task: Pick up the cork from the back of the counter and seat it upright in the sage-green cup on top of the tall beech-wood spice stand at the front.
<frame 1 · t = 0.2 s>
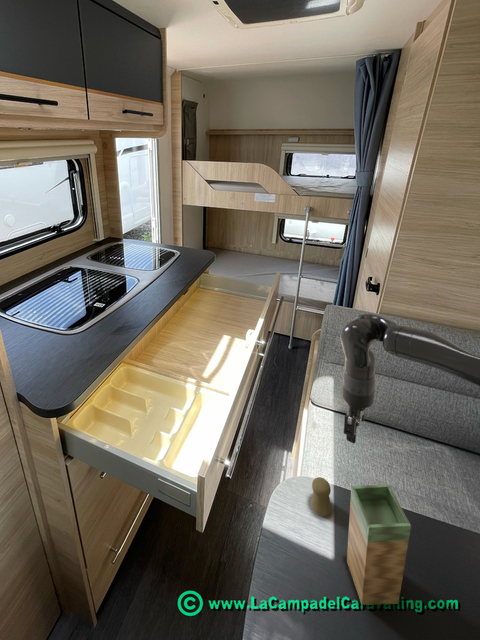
hand: (355, 429, 91), 29 cm above the table, tool pointing down, fingers open, 8 cm apart
cork: (320, 508, 99), on the table
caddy: (377, 519, 73), on the table
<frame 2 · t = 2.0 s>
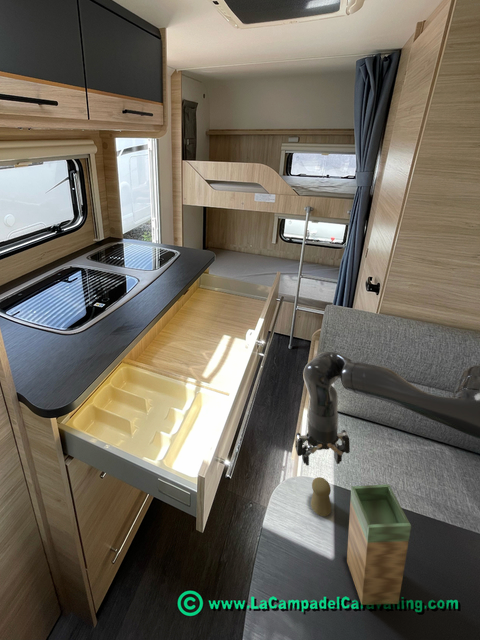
hand: (321, 461, 92), 20 cm above the table, tool pointing down, fingers open, 8 cm apart
nothing on the table moved.
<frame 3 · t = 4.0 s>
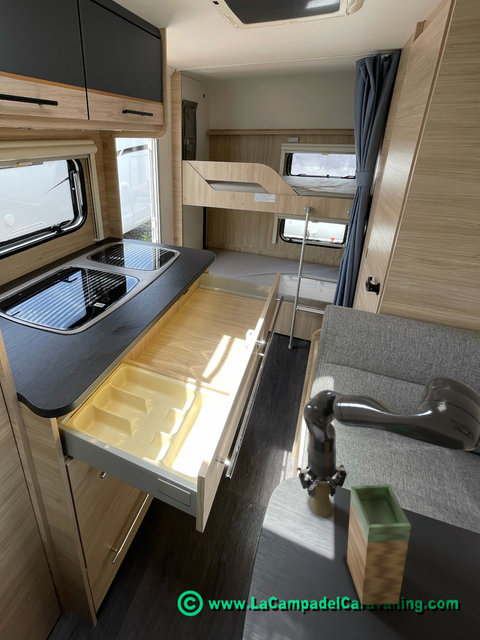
hand: (321, 493, 97), 6 cm above the table, tool pointing down, fingers closed on cork, 5 cm apart
cork: (320, 508, 99), on the table, touching gripper
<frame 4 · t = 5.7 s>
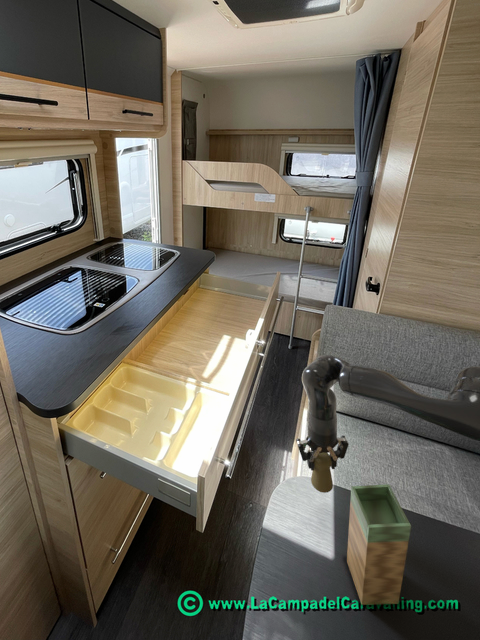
hand: (321, 466, 93), 18 cm above the table, tool pointing down, fingers closed on cork, 5 cm apart
cork: (321, 482, 95), point 11 cm above the table, touching gripper
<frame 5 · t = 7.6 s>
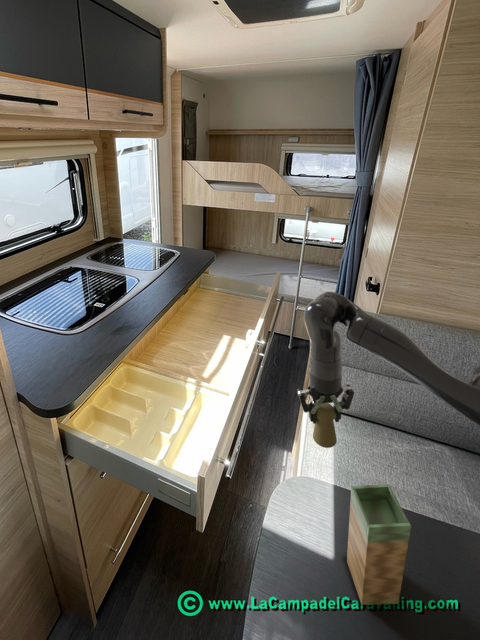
hand: (324, 420, 86), 37 cm above the table, tool pointing down, fingers closed on cork, 5 cm apart
cork: (324, 438, 88), point 30 cm above the table, touching gripper
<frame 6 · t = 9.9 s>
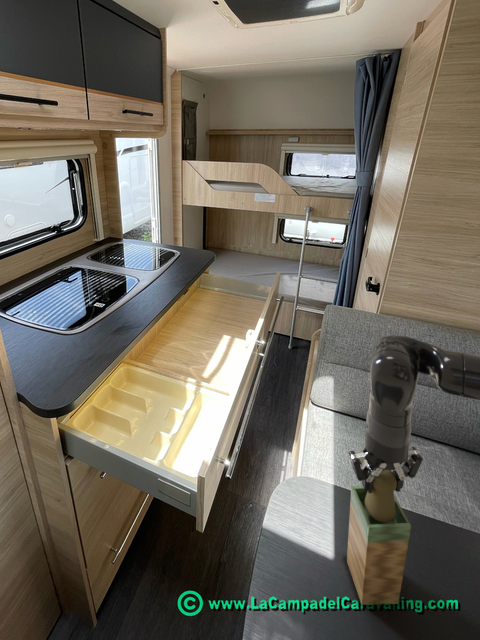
hand: (381, 487, 70), 36 cm above the table, tool pointing down, fingers closed on cork, 5 cm apart
cork: (379, 508, 72), point 29 cm above the table, touching gripper
when the fingers open (32 cm above the table, at t = 11.3 s): cork stays where it is, resting on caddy.
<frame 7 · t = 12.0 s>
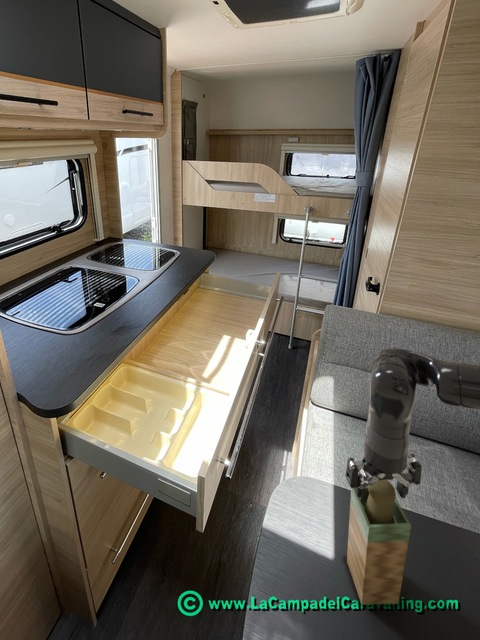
hand: (380, 494, 70), 33 cm above the table, tool pointing down, fingers open, 8 cm apart
cork: (378, 518, 73), point 25 cm above the table, touching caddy
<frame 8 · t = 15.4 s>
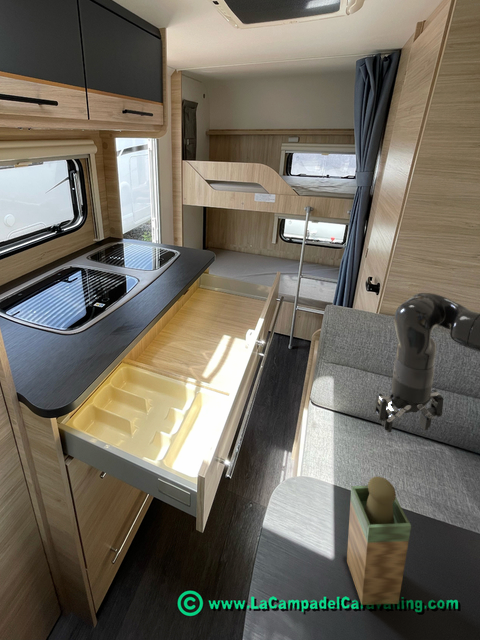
hand: (405, 428, 79), 38 cm above the table, tool pointing down, fingers open, 8 cm apart
nothing on the table moved.
at the end: cork 0.1 cm off-centre on the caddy, point 0.4 cm above the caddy's base; cork tilted 0°; the gripper is holding nothing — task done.
